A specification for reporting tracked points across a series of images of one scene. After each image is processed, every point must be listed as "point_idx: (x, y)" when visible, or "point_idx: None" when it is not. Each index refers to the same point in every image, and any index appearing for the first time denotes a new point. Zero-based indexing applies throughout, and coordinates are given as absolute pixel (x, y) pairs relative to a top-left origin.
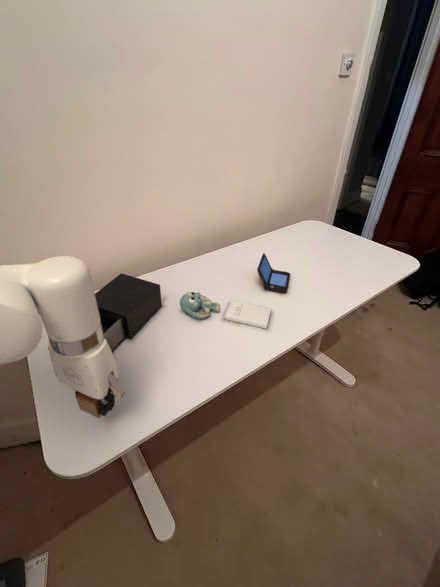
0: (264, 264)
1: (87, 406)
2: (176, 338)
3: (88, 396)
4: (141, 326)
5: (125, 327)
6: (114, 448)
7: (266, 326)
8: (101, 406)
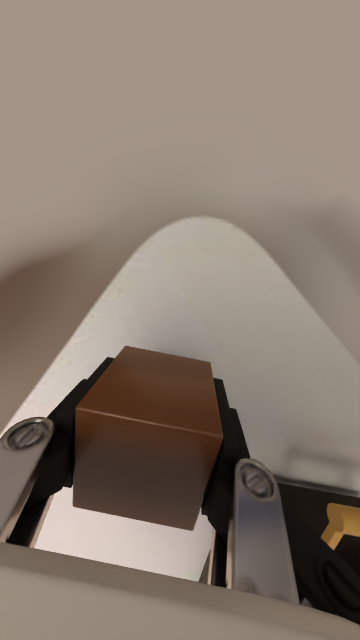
0: None
1: (155, 382)
2: (124, 540)
3: (143, 442)
4: (209, 560)
5: None
6: (119, 295)
7: None
8: (73, 397)
